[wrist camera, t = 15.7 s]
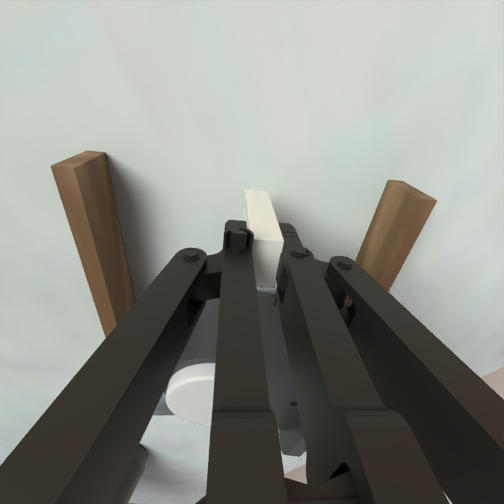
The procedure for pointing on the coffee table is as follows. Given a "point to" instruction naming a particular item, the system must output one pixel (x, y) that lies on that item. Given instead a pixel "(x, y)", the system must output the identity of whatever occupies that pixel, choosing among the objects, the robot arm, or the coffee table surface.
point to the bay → (113, 253)
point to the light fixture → (203, 372)
